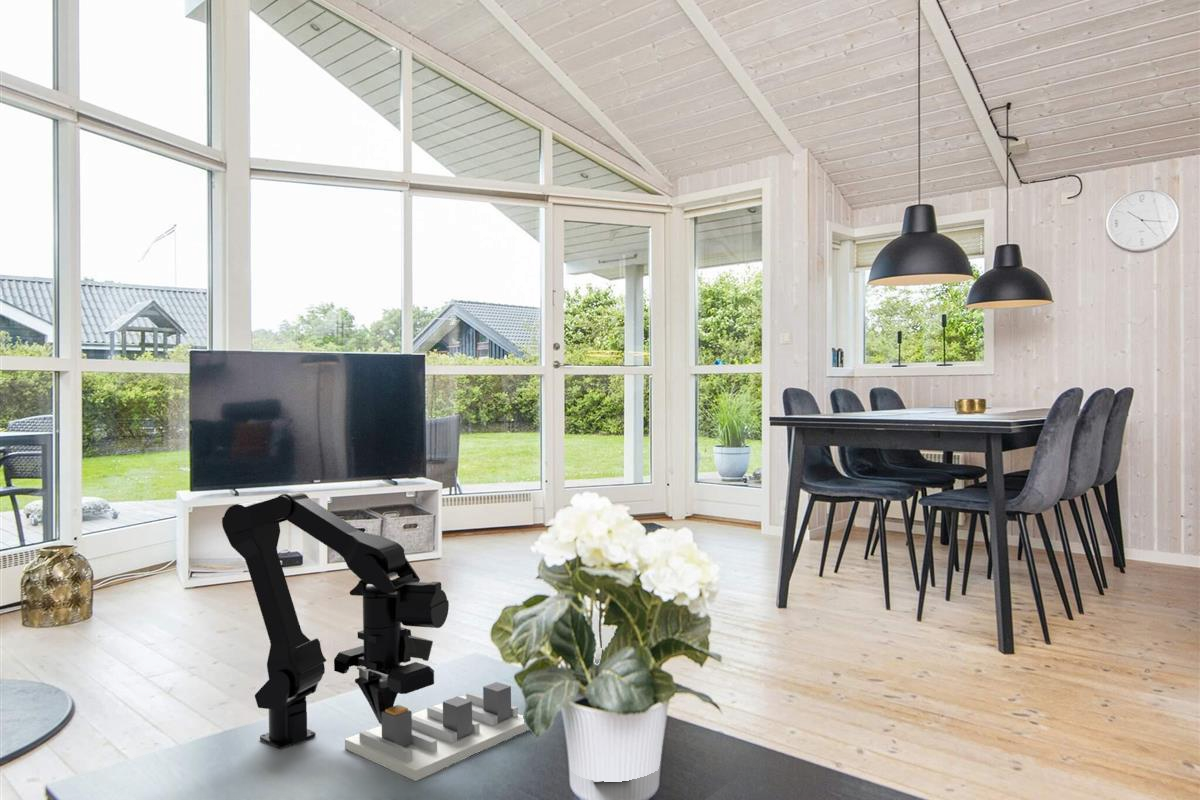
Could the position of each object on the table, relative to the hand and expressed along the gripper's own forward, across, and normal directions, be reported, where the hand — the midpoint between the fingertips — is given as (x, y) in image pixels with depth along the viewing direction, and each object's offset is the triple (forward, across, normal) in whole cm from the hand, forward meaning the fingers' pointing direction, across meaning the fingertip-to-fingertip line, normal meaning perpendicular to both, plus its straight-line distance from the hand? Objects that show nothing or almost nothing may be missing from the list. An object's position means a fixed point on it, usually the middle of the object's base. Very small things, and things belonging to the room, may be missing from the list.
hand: (383, 723), depth 127 cm
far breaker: (+2, -8, -17) cm, 19 cm away
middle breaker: (+2, -8, -8) cm, 12 cm away
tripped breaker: (+2, -3, 0) cm, 4 cm away
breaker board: (+4, -4, -8) cm, 10 cm away
